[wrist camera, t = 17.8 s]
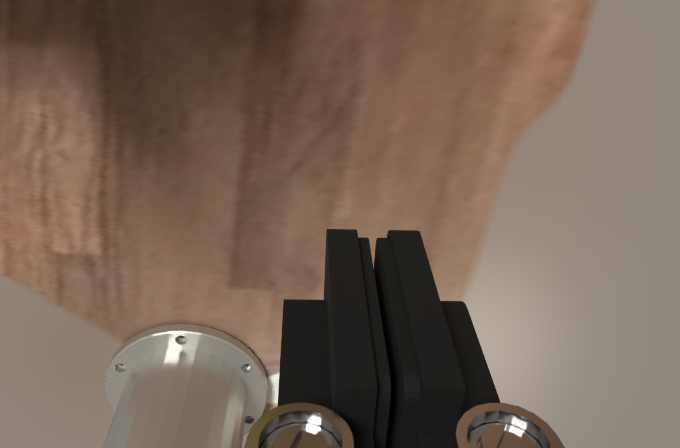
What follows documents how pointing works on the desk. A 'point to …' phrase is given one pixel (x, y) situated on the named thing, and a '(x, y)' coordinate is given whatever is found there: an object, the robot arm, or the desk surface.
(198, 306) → the desk surface
